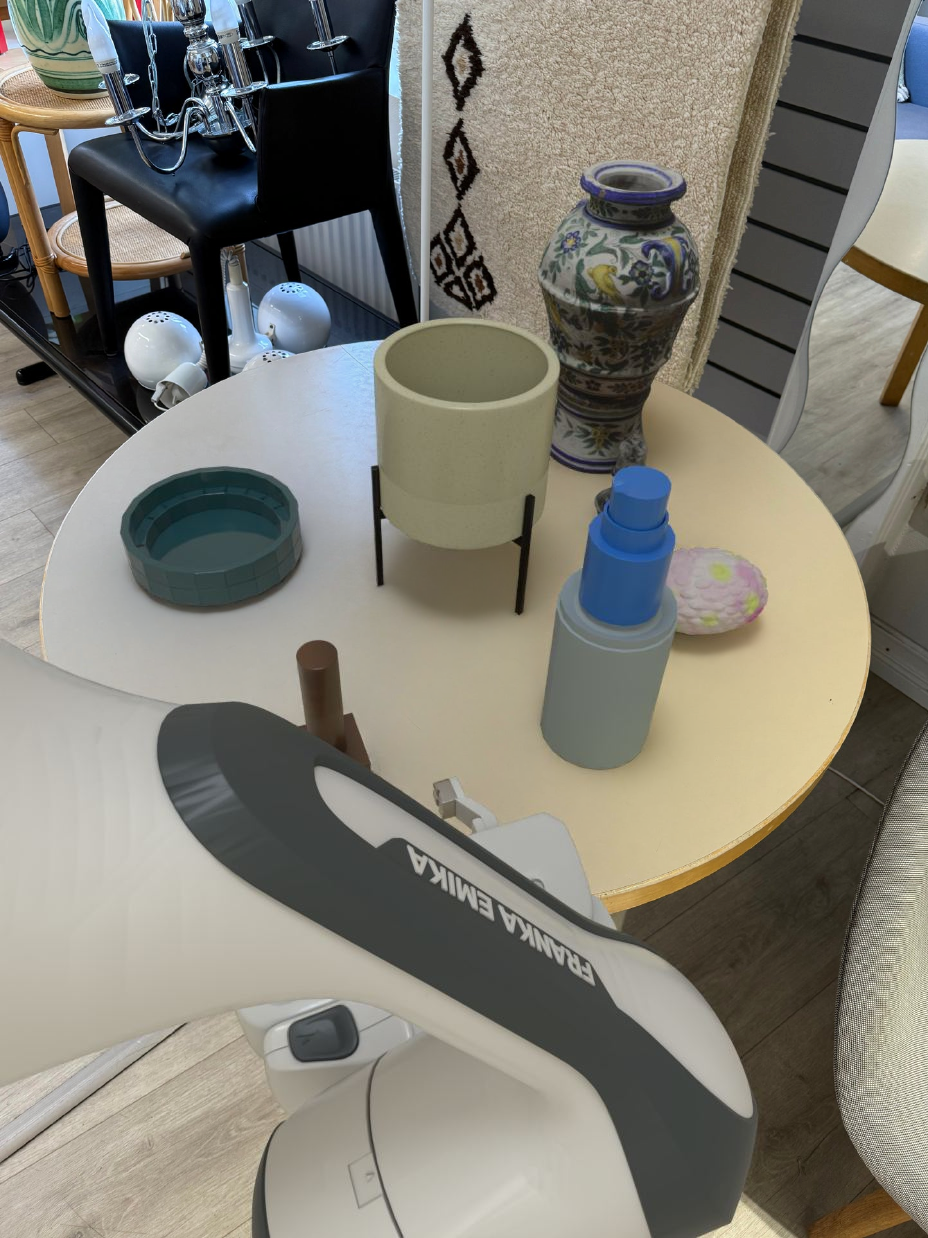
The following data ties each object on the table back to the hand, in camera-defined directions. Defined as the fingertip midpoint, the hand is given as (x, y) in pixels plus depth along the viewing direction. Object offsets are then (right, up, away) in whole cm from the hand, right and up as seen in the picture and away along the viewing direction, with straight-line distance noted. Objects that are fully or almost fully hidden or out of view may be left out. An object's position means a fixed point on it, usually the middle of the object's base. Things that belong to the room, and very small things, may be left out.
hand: (369, 806), depth 54 cm
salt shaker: (+22, +20, +41) cm, 51 cm away
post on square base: (-5, -1, +17) cm, 18 cm away
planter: (+5, +16, +36) cm, 39 cm away
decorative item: (+27, +11, +32) cm, 43 cm away
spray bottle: (+17, +2, +22) cm, 28 cm away
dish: (-19, +18, +36) cm, 44 cm away
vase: (+21, +32, +53) cm, 65 cm away
